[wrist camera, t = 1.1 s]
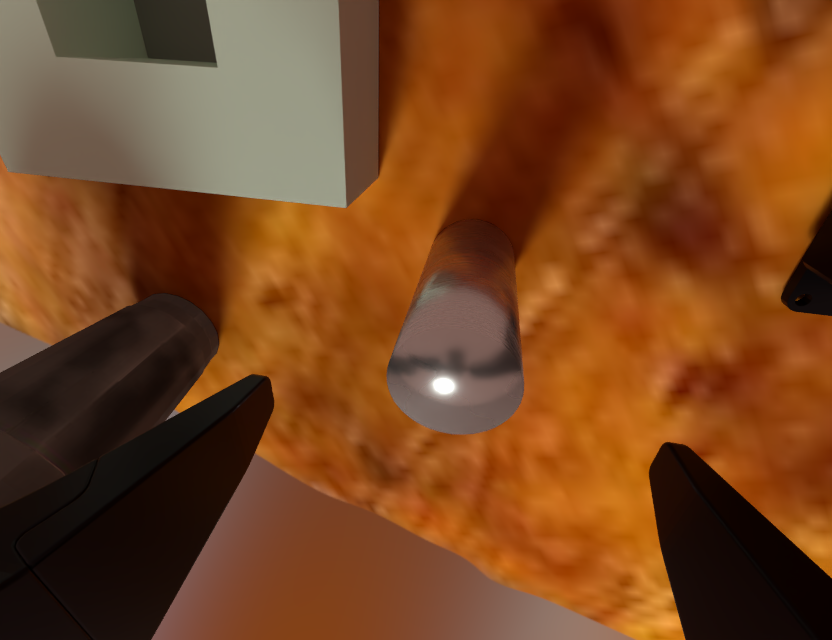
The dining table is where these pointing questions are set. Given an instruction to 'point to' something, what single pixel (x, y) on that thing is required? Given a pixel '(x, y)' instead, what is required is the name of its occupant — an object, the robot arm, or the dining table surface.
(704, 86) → the dining table surface
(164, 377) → the beverage cup
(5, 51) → the socket block
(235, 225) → the dining table surface
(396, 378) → the peg
